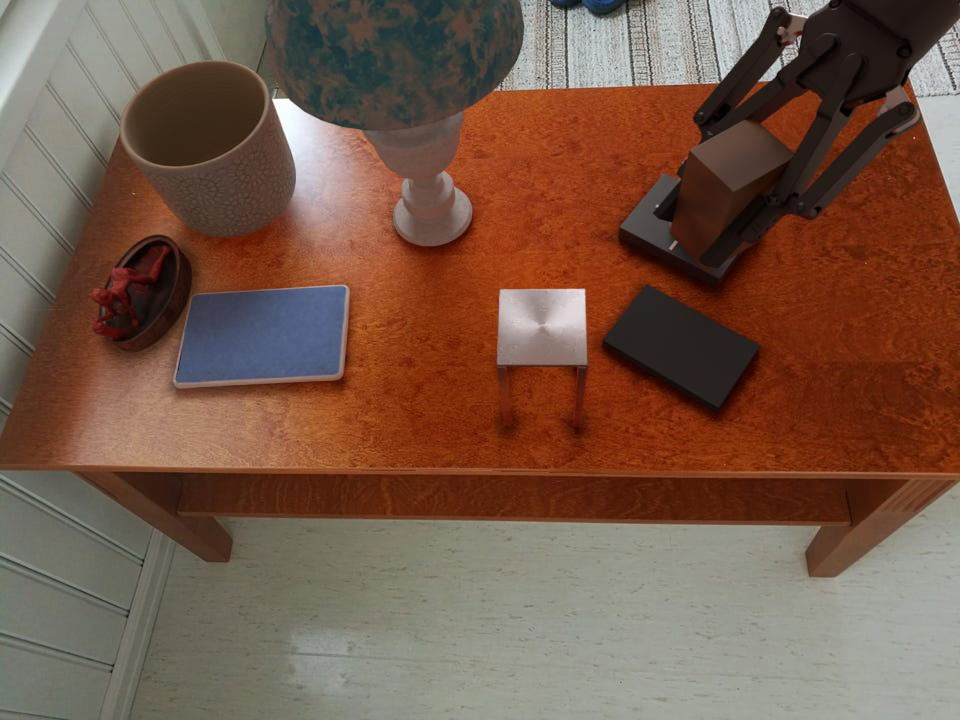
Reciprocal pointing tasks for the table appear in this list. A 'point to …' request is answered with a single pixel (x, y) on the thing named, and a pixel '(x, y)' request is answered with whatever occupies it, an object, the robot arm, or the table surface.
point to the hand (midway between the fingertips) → (685, 240)
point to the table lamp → (399, 85)
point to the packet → (725, 183)
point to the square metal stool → (542, 337)
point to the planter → (211, 147)
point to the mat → (681, 347)
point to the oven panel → (666, 236)
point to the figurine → (143, 294)
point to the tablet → (264, 337)
